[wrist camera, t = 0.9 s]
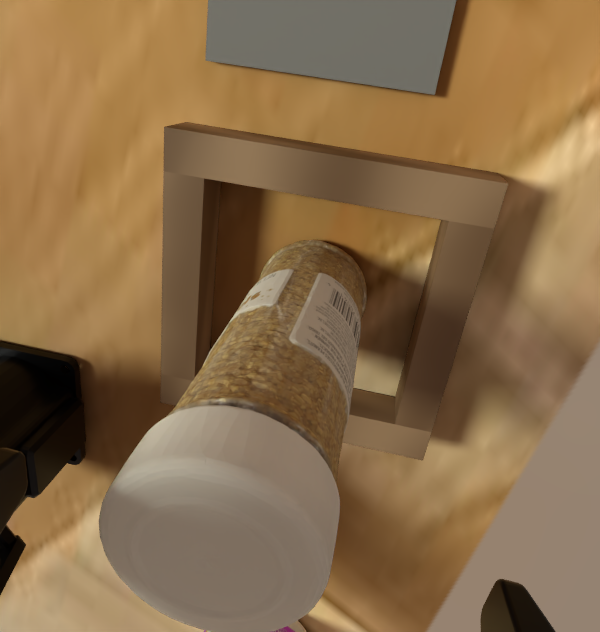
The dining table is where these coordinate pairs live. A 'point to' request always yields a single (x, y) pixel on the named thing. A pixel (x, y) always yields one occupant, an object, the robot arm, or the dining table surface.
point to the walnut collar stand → (342, 186)
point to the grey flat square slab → (335, 39)
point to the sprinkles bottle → (248, 458)
